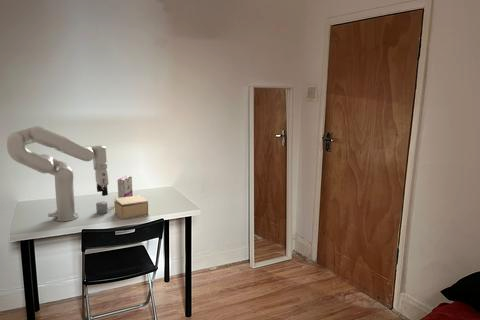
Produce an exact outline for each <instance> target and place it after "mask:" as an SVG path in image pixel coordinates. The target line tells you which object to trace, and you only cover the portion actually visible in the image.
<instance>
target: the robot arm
mask: <svg viewBox="0 0 480 320" xmlns="http://www.w3.org/2000/svg"><path fill="white" fill-rule="evenodd" d="M34 143H37V144H40V145H42V146H44V147H47V148H51V149H52V150H55V151H58V152H60V153H63V154H64V155H65V154H66V155H68V156H70V157H73V158H75V159H78V160H82V162H90V161H93V170H94V171H95V173H94V175H95V183H96V190H97V191H96V192H98V193H100V192H101V196H102V197H105V196H108V195H109V193H108V185H109V176H108V170H107V169H108V160H107V148H106V146H104V145H93V146H91V145H90V146H88V145H87V146H86V145H84V146H83V145H80V144H78V143H76V142H74V141H71V140H70V139H69V138H68V137H66V136H63V135H60V134H58V133H56V132H53V131H51V130H47V129H46V128H44V127H42V126H40V125H37V126H32V127H28V128H25V129H21V130H18V131H15V132H12V133H10V134H9V135H8V136H7V138H6V148H7V154H8V155H9V157H10V159H12V160H13V161H15V162H16V163H18V164H20V165H22V166H25V167H27V168H29V169H32V170H34V171H36V172H39V173H41V174H49V175H51V176H54V186H55V187H54V188H55V201H56V210H55V211H54V212H51V213H48V214H47V217H48V218H54V220H55V221H57V222H69V221H73V220H76V219H77V218H79V214H78V213H77V212H76V206H75V203H76V202H75V191H74V171H73V169H72V168H71V166H70V165H69V164H68V163H66V162H64V161H63V160H60V159H58V158H56V157H53V156H51V155H49V154H45V153H43V154H41V153H40V154H39V153H36V152H34V151H32V150H29V149H28V148H27V147H26V145H27V146H28V145H31V144H34Z"/></svg>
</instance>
